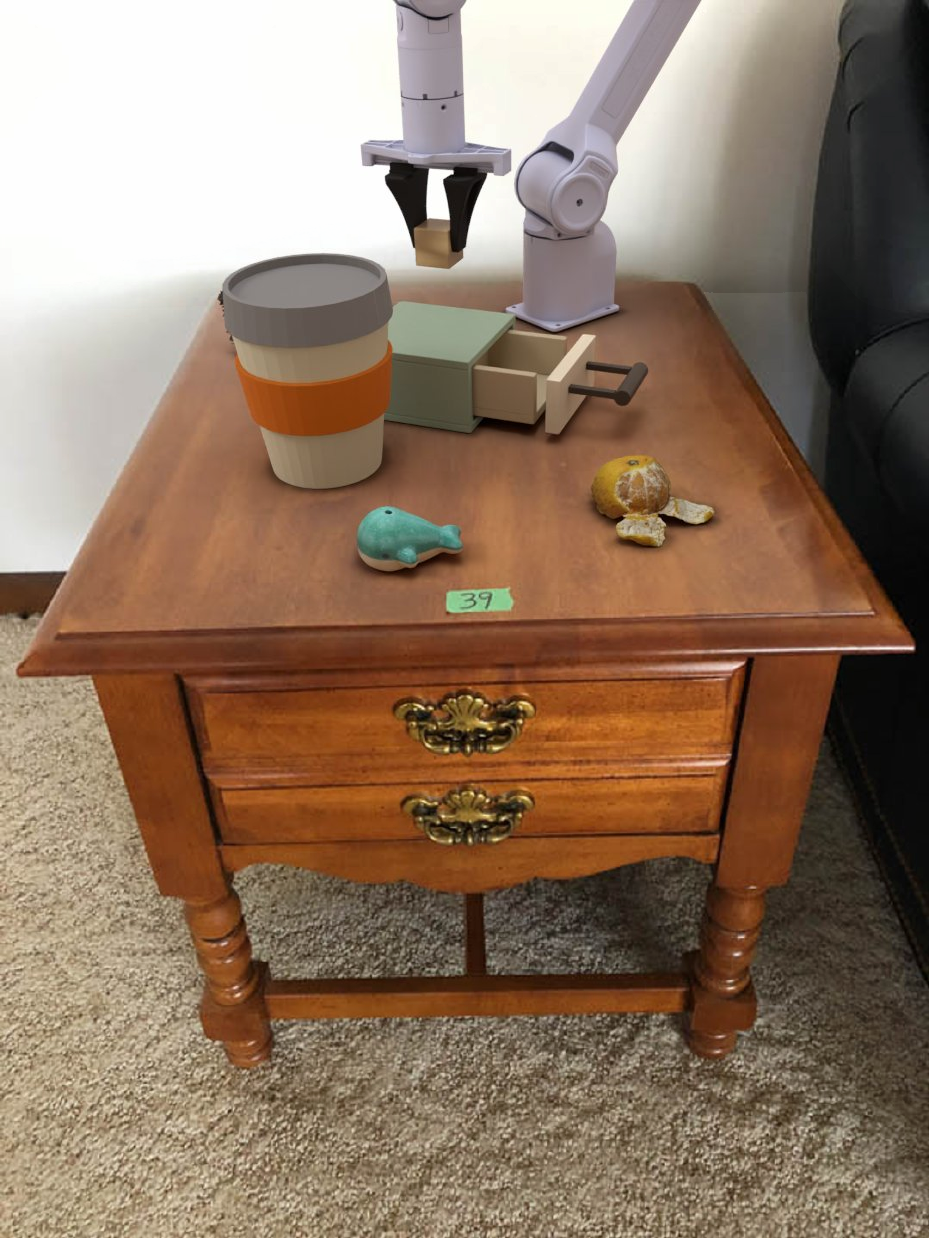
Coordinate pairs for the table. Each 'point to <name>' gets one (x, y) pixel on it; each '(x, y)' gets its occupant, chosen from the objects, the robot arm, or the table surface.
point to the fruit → (641, 499)
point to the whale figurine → (403, 539)
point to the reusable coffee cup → (314, 362)
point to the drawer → (544, 378)
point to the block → (435, 244)
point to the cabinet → (438, 362)
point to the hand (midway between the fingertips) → (439, 247)
